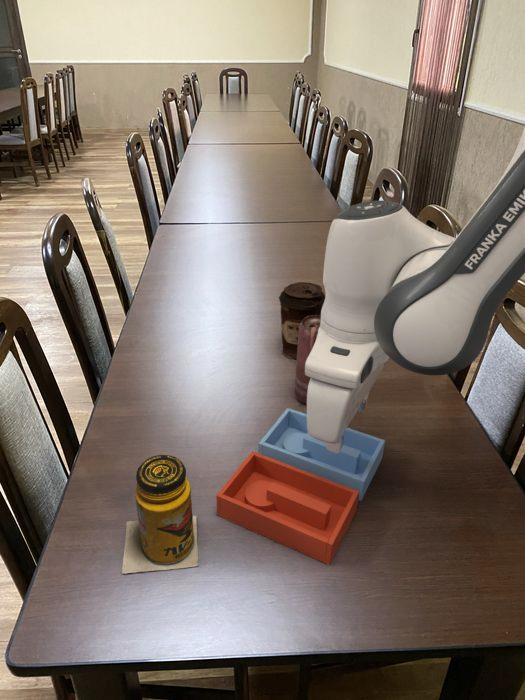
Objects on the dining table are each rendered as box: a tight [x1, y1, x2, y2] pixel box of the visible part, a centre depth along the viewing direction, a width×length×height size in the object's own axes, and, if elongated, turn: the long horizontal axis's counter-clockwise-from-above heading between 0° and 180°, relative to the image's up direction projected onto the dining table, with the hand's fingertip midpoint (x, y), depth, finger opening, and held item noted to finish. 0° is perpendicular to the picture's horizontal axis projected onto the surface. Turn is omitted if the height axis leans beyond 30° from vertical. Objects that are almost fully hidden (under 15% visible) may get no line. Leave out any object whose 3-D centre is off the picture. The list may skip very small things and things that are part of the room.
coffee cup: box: [278, 281, 326, 360], centre depth 98 cm, size 9×8×13 cm
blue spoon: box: [283, 432, 361, 474], centre depth 75 cm, size 11×4×3 cm, turn 62°
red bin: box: [215, 450, 359, 566], centre depth 67 cm, size 15×9×4 cm, turn 62°
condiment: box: [121, 454, 199, 575], centre depth 60 cm, size 7×8×12 cm
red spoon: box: [245, 481, 331, 531], centre depth 67 cm, size 11×4×3 cm, turn 62°
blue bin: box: [258, 407, 386, 502], centre depth 75 cm, size 15×9×4 cm, turn 62°
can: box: [294, 315, 321, 406], centre depth 86 cm, size 6×6×14 cm
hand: (347, 427), depth 72 cm, fingers open, 8 cm apart
